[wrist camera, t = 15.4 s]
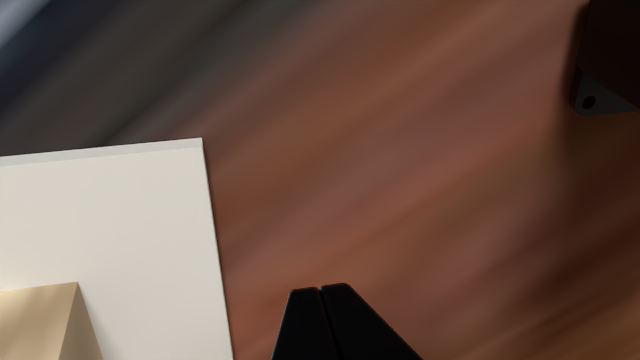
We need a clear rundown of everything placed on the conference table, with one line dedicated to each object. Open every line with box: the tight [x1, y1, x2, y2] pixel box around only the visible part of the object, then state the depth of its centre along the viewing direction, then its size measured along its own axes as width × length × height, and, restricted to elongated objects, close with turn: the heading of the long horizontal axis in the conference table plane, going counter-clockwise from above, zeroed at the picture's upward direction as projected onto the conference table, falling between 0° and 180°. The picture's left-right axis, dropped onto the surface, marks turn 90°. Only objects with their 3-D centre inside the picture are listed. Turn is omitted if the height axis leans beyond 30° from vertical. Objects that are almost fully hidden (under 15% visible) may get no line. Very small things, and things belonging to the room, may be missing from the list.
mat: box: [0, 138, 234, 360], centre depth 22 cm, size 14×16×1 cm
